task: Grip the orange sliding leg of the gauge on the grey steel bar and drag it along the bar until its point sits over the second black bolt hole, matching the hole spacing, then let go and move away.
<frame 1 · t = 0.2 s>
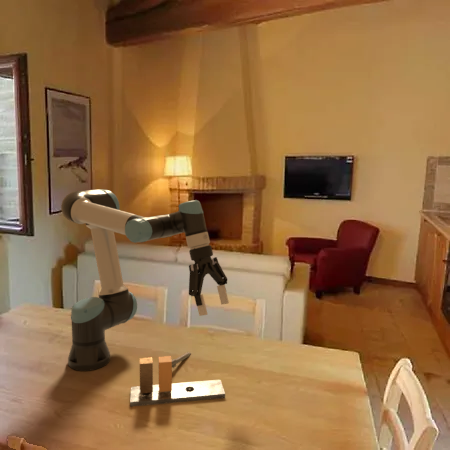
hand: (214, 309, 140), 27 cm above the table, tool tilted 20°, fingers open, 13 cm apart
caliper: (178, 366, 158), on the table
slide leg: (165, 374, 137), point 7 cm above the table, slide at 0.0 cm
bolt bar: (177, 394, 139), on the table
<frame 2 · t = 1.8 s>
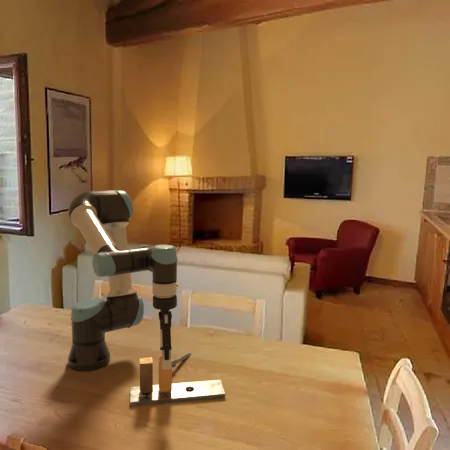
hand: (165, 358, 136), 13 cm above the table, tool pointing down, fingers open, 13 cm apart
nothing on the table moved.
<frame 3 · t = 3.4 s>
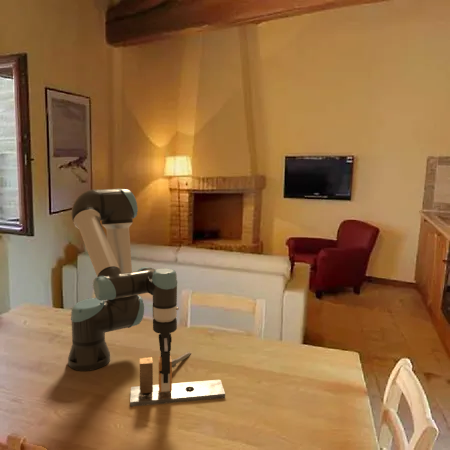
hand: (165, 386, 137), 3 cm above the table, tool pointing down, fingers closed on slide leg, 4 cm apart
slide leg: (165, 374, 137), point 7 cm above the table, slide at 0.0 cm, touching gripper
everything else where it was.
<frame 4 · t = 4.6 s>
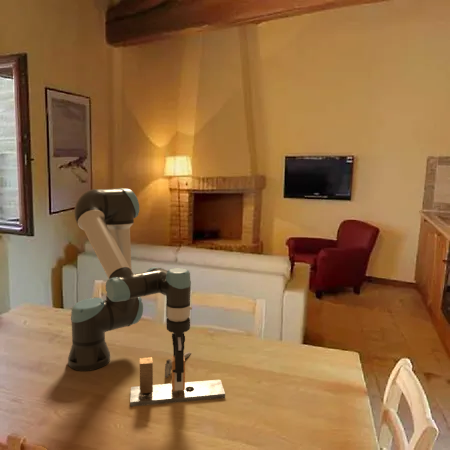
hand: (178, 385, 138), 3 cm above the table, tool pointing down, fingers closed on slide leg, 4 cm apart
slide leg: (178, 373, 138), point 7 cm above the table, slide at 4.2 cm, touching gripper
everything else where it was.
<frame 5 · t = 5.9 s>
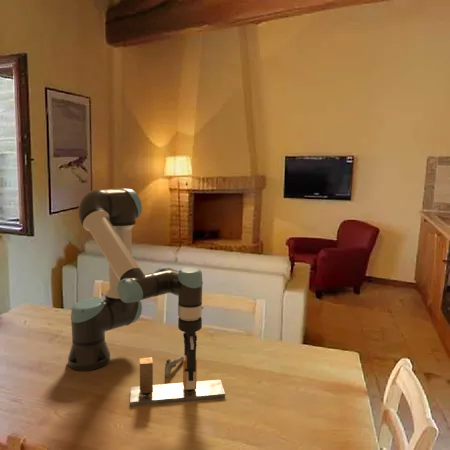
hand: (189, 384, 139), 3 cm above the table, tool pointing down, fingers closed on slide leg, 4 cm apart
slide leg: (189, 372, 138), point 7 cm above the table, slide at 8.0 cm, touching gripper
everything else where it was.
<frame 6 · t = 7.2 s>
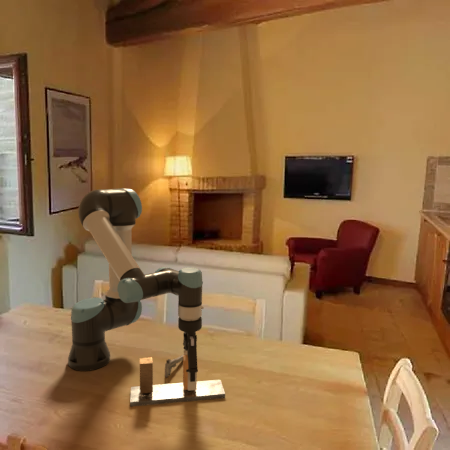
hand: (189, 378, 139), 5 cm above the table, tool pointing down, fingers open, 13 cm apart
slide leg: (189, 372, 138), point 7 cm above the table, slide at 8.0 cm
everything else where it was.
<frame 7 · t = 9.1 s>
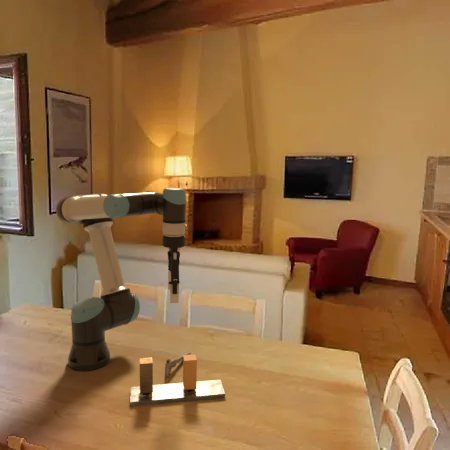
hand: (173, 295, 144), 30 cm above the table, tool pointing down, fingers open, 13 cm apart
nothing on the table moved.
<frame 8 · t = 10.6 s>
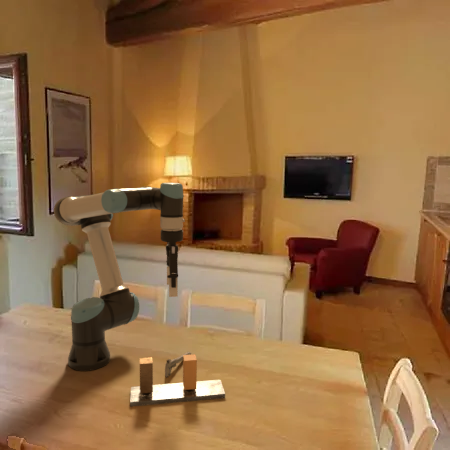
hand: (171, 290, 145), 32 cm above the table, tool pointing down, fingers open, 13 cm apart
nothing on the table moved.
at the end: slide leg slide at 8.0 cm; the gripper is holding nothing; caliper moved 0.6 cm from its start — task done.
